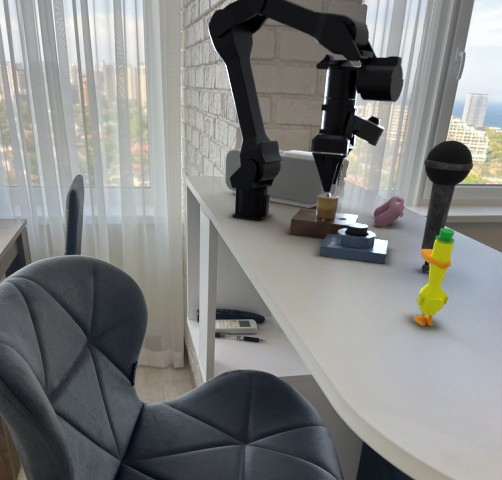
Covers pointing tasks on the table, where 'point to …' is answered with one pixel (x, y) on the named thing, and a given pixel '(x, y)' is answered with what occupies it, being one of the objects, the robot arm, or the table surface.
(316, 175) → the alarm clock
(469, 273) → the table surface
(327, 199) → the dial
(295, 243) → the table surface
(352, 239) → the button box
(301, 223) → the dial panel
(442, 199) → the microphone
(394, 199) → the video game controller
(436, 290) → the toy figure
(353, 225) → the button
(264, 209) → the robot arm
